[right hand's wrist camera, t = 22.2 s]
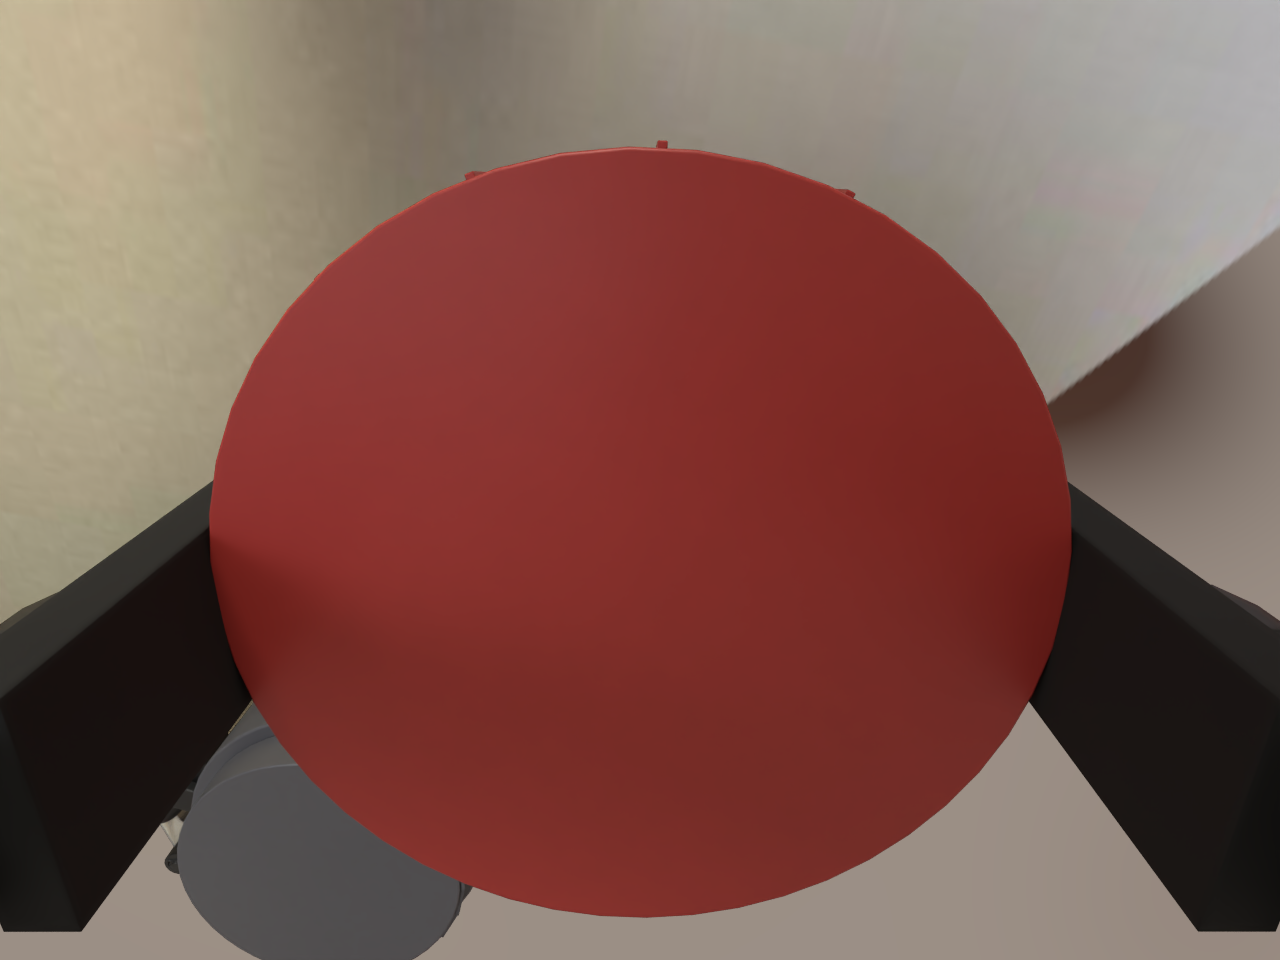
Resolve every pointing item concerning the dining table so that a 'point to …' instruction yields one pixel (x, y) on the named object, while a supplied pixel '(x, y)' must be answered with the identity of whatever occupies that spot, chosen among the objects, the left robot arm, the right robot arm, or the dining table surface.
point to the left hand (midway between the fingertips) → (491, 682)
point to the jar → (300, 864)
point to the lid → (640, 532)
